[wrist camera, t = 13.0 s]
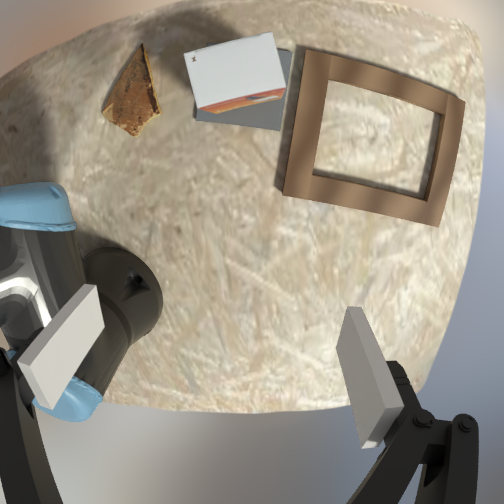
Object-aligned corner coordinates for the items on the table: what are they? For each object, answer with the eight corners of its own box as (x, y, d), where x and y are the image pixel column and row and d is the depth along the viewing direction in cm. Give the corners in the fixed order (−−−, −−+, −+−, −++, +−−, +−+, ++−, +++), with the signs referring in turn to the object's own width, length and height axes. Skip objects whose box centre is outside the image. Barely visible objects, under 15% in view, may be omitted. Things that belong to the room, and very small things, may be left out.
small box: (215, 114, 34) (194, 110, 24) (205, 71, 32) (180, 53, 22) (283, 99, 33) (287, 88, 23) (272, 55, 30) (272, 30, 21)
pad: (196, 120, 35) (195, 120, 34) (208, 44, 31) (207, 43, 30) (279, 131, 35) (280, 131, 34) (292, 53, 31) (292, 52, 30)
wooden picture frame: (282, 193, 38) (282, 195, 37) (305, 51, 30) (306, 49, 29) (434, 224, 38) (438, 227, 37) (460, 101, 31) (465, 101, 29)
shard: (146, 45, 31) (141, 42, 30) (192, 69, 33) (189, 67, 31) (104, 114, 35) (97, 114, 33) (146, 141, 36) (141, 142, 35)
